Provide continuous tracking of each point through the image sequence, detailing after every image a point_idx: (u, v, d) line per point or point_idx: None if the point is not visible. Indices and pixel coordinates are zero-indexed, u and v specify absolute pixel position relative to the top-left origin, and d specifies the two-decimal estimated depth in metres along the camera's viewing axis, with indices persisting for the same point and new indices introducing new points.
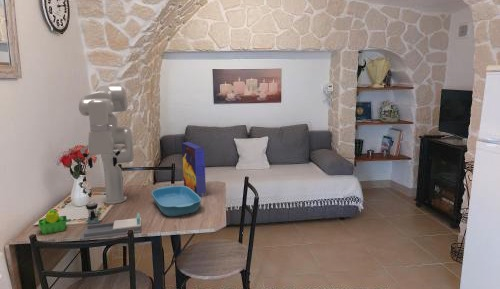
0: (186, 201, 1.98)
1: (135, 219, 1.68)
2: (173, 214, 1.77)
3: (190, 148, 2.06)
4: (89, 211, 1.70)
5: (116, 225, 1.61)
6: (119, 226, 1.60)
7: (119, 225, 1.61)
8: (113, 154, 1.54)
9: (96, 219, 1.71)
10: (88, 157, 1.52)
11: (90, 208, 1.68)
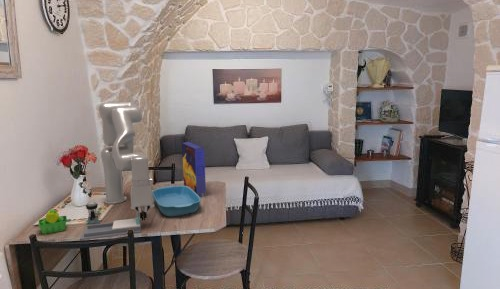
0: (186, 201, 1.97)
1: (134, 219, 1.68)
2: (172, 214, 1.77)
3: (190, 148, 2.06)
4: (89, 211, 1.70)
5: (115, 225, 1.61)
6: (118, 226, 1.59)
7: (118, 225, 1.61)
8: (145, 208, 1.63)
9: (96, 219, 1.71)
10: (140, 211, 1.63)
11: (90, 208, 1.68)
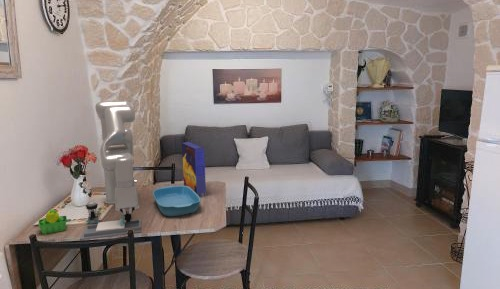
0: (187, 201, 1.97)
1: (119, 220, 1.66)
2: (172, 214, 1.77)
3: (190, 148, 2.06)
4: (89, 211, 1.70)
5: (99, 227, 1.59)
6: (102, 228, 1.58)
7: (102, 227, 1.59)
8: (130, 210, 1.62)
9: (96, 219, 1.71)
10: (124, 212, 1.61)
11: (90, 208, 1.68)
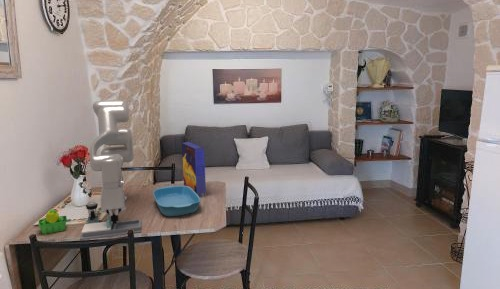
0: (187, 201, 1.97)
1: (106, 222, 1.64)
2: (171, 214, 1.77)
3: (190, 148, 2.06)
4: (89, 211, 1.70)
5: (85, 229, 1.57)
6: (88, 230, 1.56)
7: (88, 229, 1.57)
8: (116, 211, 1.60)
9: (96, 219, 1.71)
10: (110, 214, 1.59)
11: (90, 208, 1.68)
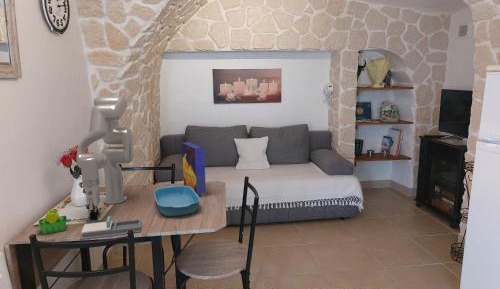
0: (187, 201, 1.97)
1: (106, 222, 1.64)
2: (170, 214, 1.77)
3: (190, 148, 2.06)
4: (89, 211, 1.70)
5: (85, 229, 1.57)
6: (88, 230, 1.56)
7: (88, 229, 1.57)
8: (89, 209, 1.68)
9: None
10: None
11: None
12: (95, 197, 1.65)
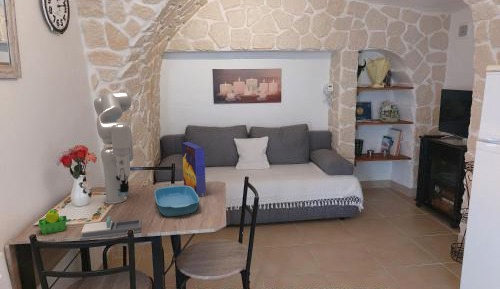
0: (188, 201, 1.97)
1: (106, 222, 1.64)
2: (169, 214, 1.77)
3: (190, 148, 2.06)
4: (119, 182, 1.59)
5: (85, 229, 1.57)
6: (88, 230, 1.56)
7: (88, 229, 1.57)
8: (120, 180, 1.57)
9: None
10: None
11: None
12: (127, 167, 1.55)
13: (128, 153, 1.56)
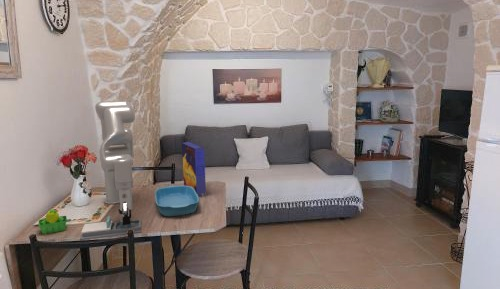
0: (188, 201, 1.97)
1: (106, 222, 1.64)
2: (168, 214, 1.77)
3: (190, 148, 2.06)
4: None
5: (85, 229, 1.57)
6: (88, 230, 1.56)
7: (88, 229, 1.57)
8: None
9: (129, 224, 1.63)
10: None
11: None
12: (129, 200, 1.57)
13: (131, 186, 1.59)
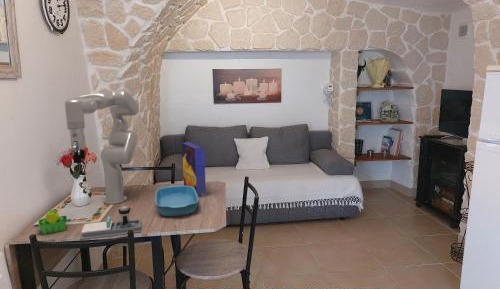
0: (188, 202, 1.97)
1: (106, 222, 1.64)
2: (167, 214, 1.77)
3: (190, 148, 2.06)
4: None
5: (85, 229, 1.57)
6: (88, 230, 1.56)
7: (88, 229, 1.57)
8: (73, 151, 1.64)
9: (129, 224, 1.63)
10: None
11: (123, 213, 1.60)
12: (80, 140, 1.64)
13: (82, 127, 1.66)
